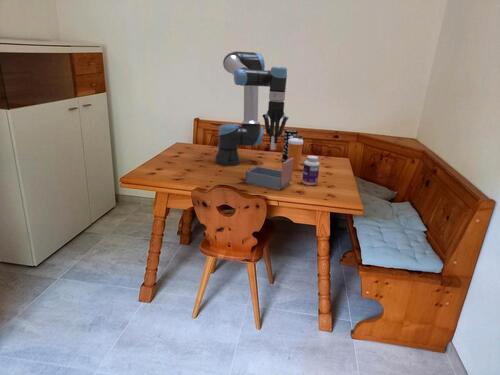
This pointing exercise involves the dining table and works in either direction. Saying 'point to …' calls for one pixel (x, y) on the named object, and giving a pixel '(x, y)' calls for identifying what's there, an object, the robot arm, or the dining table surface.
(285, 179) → the tailgate
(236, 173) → the dining table surface
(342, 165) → the dining table surface
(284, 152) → the spotted tube
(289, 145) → the shaker bottle
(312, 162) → the pill bottle
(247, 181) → the grey open box
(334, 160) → the dining table surface
